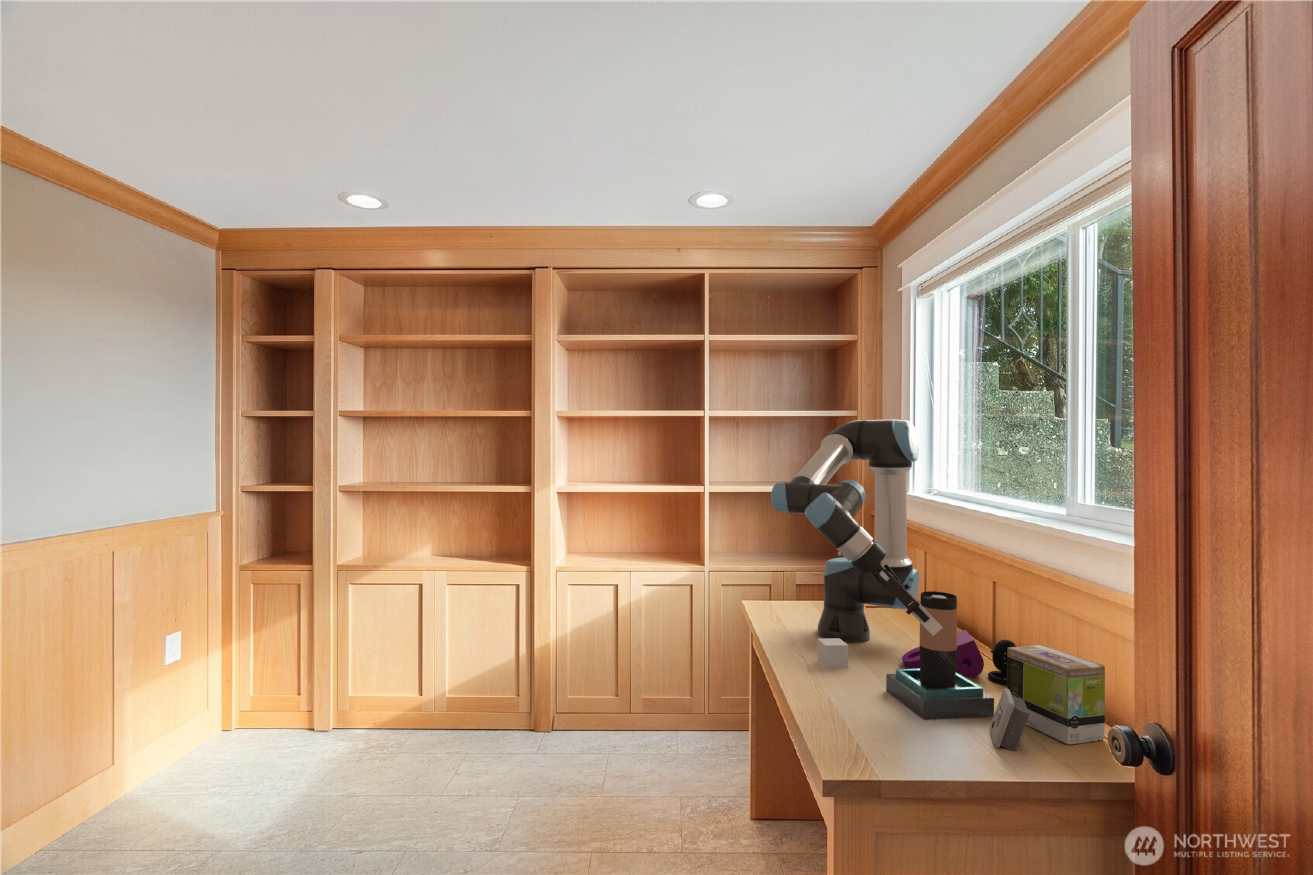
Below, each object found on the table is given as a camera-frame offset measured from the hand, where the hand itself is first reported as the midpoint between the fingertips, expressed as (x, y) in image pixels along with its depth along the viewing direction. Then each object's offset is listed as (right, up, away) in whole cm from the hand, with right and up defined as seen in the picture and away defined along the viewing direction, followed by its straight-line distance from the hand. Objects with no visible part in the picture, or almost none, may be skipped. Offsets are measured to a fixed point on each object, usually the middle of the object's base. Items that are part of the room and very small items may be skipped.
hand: (931, 622), depth 146 cm
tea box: (+20, -18, -12) cm, 30 cm away
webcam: (+24, -19, +15) cm, 34 cm away
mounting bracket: (+12, -19, +23) cm, 32 cm away
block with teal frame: (+1, -18, 0) cm, 18 cm away
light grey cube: (-15, -18, +25) cm, 34 cm away
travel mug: (+1, -14, 0) cm, 14 cm away
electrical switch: (+7, -18, -18) cm, 27 cm away
